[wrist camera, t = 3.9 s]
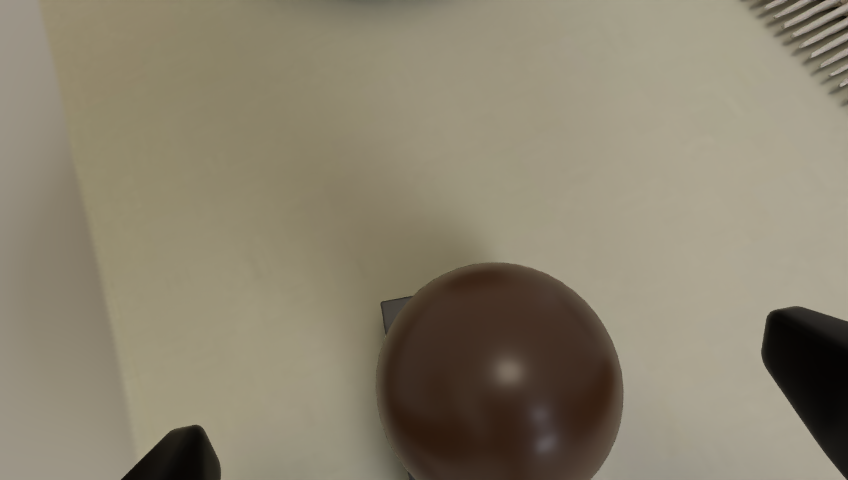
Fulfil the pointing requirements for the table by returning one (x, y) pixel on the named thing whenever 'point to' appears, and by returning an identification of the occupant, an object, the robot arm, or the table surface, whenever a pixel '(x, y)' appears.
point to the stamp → (498, 378)
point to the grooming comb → (847, 7)
